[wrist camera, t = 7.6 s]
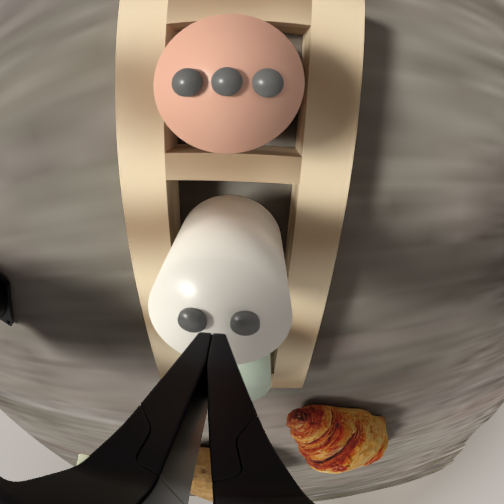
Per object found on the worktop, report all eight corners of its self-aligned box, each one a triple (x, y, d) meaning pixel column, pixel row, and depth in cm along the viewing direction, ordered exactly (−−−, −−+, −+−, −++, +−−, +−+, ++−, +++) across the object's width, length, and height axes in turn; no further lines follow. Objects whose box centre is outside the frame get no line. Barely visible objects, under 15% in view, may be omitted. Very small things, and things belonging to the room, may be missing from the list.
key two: (276, 286, 16) (283, 370, 11) (184, 281, 16) (159, 363, 11) (285, 197, 14) (303, 264, 9) (177, 193, 14) (134, 256, 9)
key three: (284, 135, 15) (299, 158, 10) (187, 133, 14) (152, 155, 10) (289, 43, 12) (309, 17, 7) (189, 42, 12) (154, 17, 7)
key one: (265, 344, 22) (267, 408, 17) (200, 341, 22) (189, 403, 17) (271, 293, 20) (275, 361, 15) (195, 289, 20) (178, 355, 15)
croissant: (386, 415, 36) (421, 443, 28) (340, 462, 35) (370, 495, 28) (307, 360, 28) (355, 405, 20) (241, 429, 27) (271, 484, 19)
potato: (201, 424, 29) (194, 486, 23) (277, 456, 35) (279, 505, 28) (154, 438, 33) (144, 488, 26) (228, 468, 38) (225, 511, 31)
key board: (299, 364, 23) (302, 387, 21) (167, 357, 23) (161, 380, 21) (349, 11, 11) (364, 0, 9) (138, 8, 11) (120, -3, 9)
